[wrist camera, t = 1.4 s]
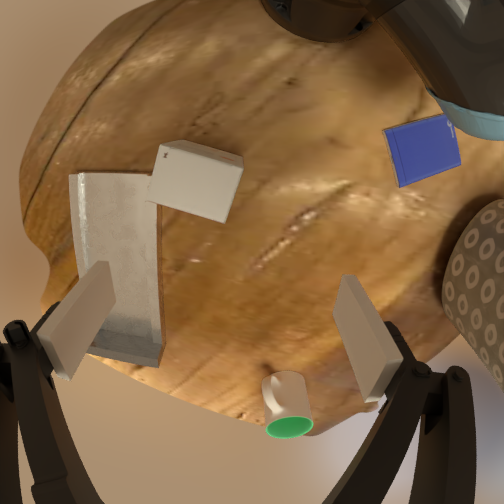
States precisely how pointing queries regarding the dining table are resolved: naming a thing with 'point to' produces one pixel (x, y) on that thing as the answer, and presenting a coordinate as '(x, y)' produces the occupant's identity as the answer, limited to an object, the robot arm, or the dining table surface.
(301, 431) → the mug
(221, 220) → the small box
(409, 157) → the hard drive
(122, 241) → the tray
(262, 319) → the dining table surface
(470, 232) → the planter
